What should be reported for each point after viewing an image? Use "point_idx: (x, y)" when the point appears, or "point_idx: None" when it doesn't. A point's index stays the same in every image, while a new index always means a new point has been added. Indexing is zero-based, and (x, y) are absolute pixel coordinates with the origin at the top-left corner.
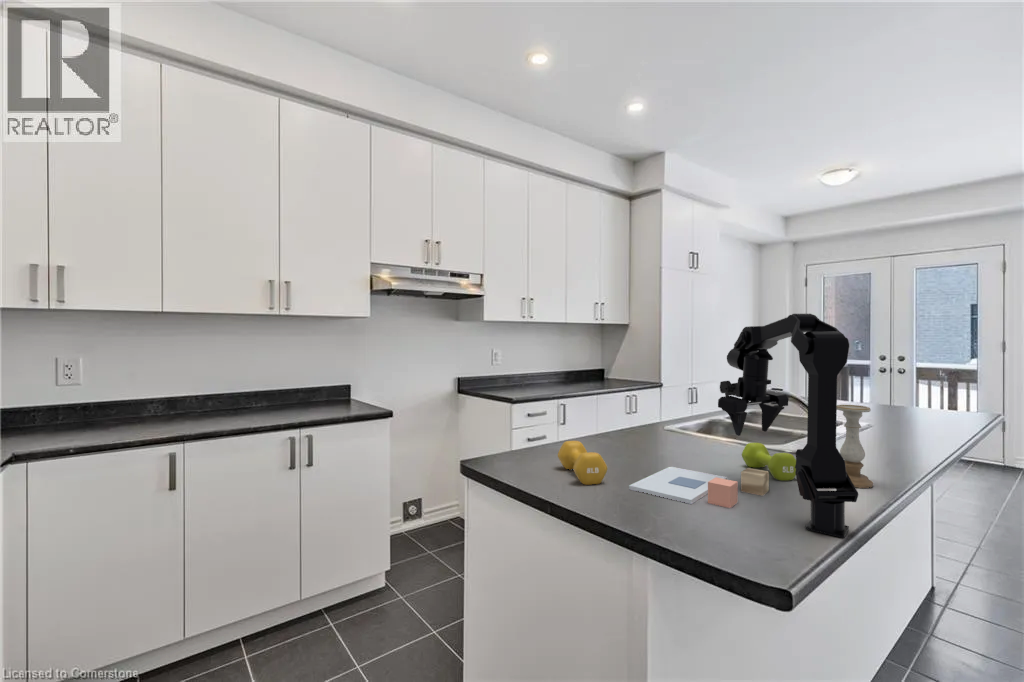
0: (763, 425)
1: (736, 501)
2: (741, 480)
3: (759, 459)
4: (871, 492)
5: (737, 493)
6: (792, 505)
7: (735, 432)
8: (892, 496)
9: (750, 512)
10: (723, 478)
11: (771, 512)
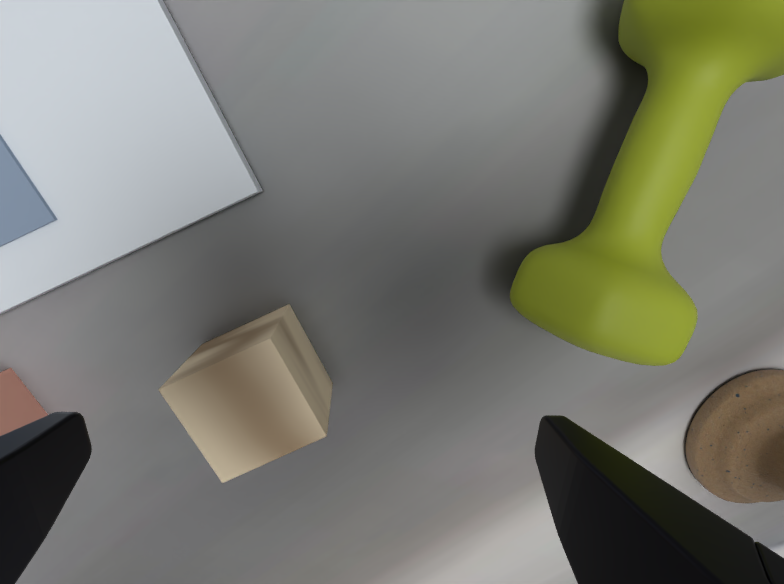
0: (574, 483)
1: None
2: (180, 368)
3: (644, 103)
4: None
5: None
6: (269, 531)
7: (26, 431)
8: None
9: None
10: (217, 201)
11: (126, 557)
